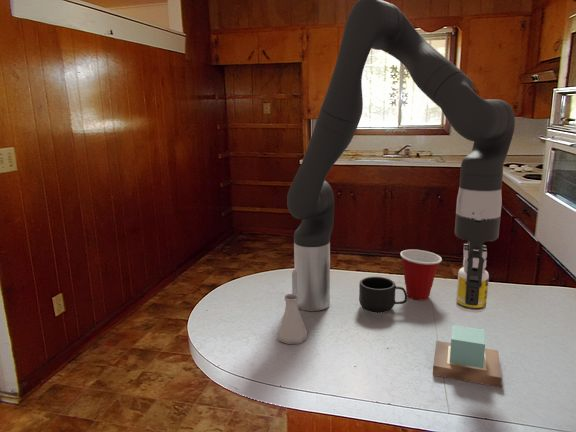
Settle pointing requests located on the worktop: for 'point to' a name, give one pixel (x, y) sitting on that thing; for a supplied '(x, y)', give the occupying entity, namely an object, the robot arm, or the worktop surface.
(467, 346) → the teal block
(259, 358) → the worktop surface
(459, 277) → the supplement bottle
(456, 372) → the base board
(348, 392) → the worktop surface
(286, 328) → the flask
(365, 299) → the mug
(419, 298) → the plastic cup
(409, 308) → the worktop surface
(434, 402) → the worktop surface
